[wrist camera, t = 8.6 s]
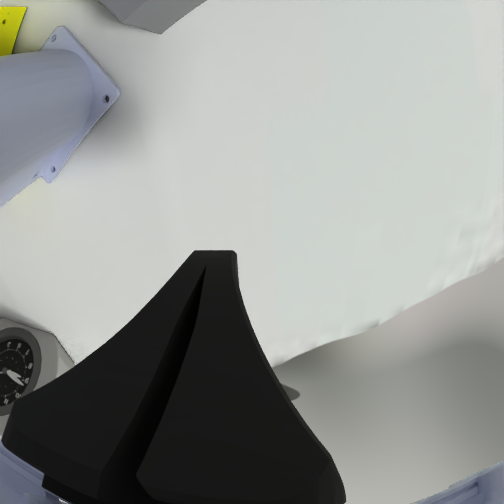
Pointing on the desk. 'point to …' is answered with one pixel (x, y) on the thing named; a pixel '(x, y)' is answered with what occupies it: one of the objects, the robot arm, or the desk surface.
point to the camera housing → (151, 12)
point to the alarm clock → (26, 363)
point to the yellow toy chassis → (9, 27)
